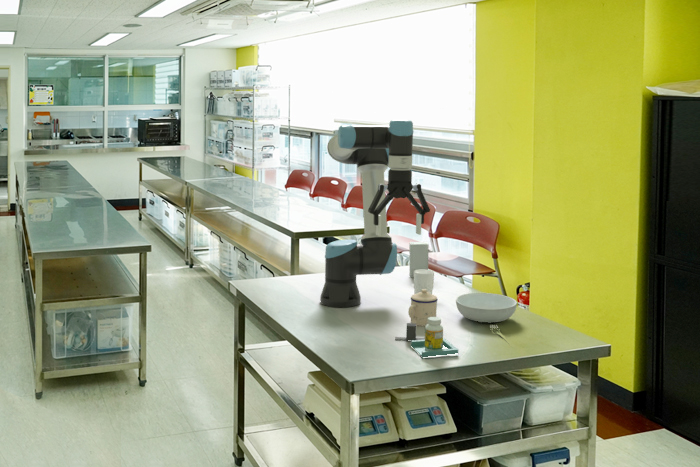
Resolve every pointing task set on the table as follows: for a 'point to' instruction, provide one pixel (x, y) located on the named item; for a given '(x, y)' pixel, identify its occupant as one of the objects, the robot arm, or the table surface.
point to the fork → (493, 327)
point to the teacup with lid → (422, 307)
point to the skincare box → (418, 256)
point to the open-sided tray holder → (420, 348)
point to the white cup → (423, 280)
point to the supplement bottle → (434, 334)
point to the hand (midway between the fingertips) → (398, 234)
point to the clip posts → (410, 333)
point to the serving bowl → (486, 307)
